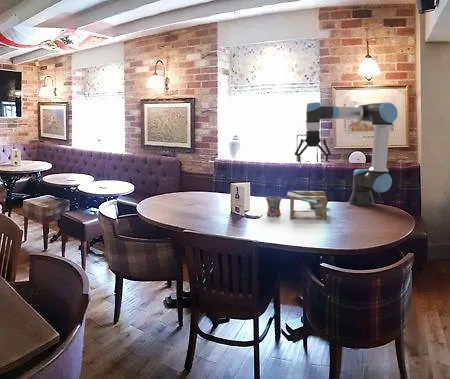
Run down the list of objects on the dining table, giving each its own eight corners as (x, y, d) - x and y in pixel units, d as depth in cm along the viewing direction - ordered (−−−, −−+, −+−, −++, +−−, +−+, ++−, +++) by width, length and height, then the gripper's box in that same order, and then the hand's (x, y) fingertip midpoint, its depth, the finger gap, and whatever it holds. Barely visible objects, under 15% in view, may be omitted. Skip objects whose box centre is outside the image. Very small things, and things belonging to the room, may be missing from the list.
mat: (319, 213, 241) (319, 212, 241) (321, 218, 229) (321, 217, 229) (294, 212, 244) (294, 211, 244) (294, 217, 231) (294, 216, 231)
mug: (283, 217, 234) (283, 199, 232) (267, 217, 234) (267, 199, 232) (279, 212, 246) (279, 195, 244) (264, 212, 246) (264, 195, 244)
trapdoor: (315, 201, 241) (315, 198, 241) (316, 206, 228) (317, 202, 227) (287, 194, 243) (287, 191, 243) (286, 198, 230) (287, 195, 230)
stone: (315, 213, 238) (325, 212, 237) (315, 215, 233) (326, 214, 232) (314, 205, 237) (324, 204, 236) (314, 207, 232) (325, 206, 231)
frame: (323, 212, 243) (324, 191, 241) (326, 219, 226) (326, 197, 224) (290, 211, 247) (290, 190, 245) (290, 218, 229) (290, 196, 227)
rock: (325, 195, 262) (330, 193, 255) (323, 211, 261) (328, 209, 253) (305, 191, 262) (309, 189, 254) (303, 207, 260) (307, 205, 252)
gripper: (335, 129, 229) (334, 166, 233) (290, 130, 233) (290, 166, 237) (336, 130, 222) (335, 168, 225) (290, 130, 226) (290, 168, 230)
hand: (312, 167), depth 231 cm, fingers open, 13 cm apart
